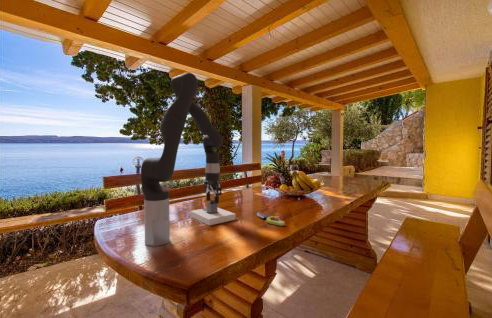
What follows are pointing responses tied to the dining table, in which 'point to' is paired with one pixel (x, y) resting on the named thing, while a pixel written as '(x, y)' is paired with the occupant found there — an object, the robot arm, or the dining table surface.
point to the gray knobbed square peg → (211, 207)
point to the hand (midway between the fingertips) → (212, 202)
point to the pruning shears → (272, 219)
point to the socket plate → (212, 216)
